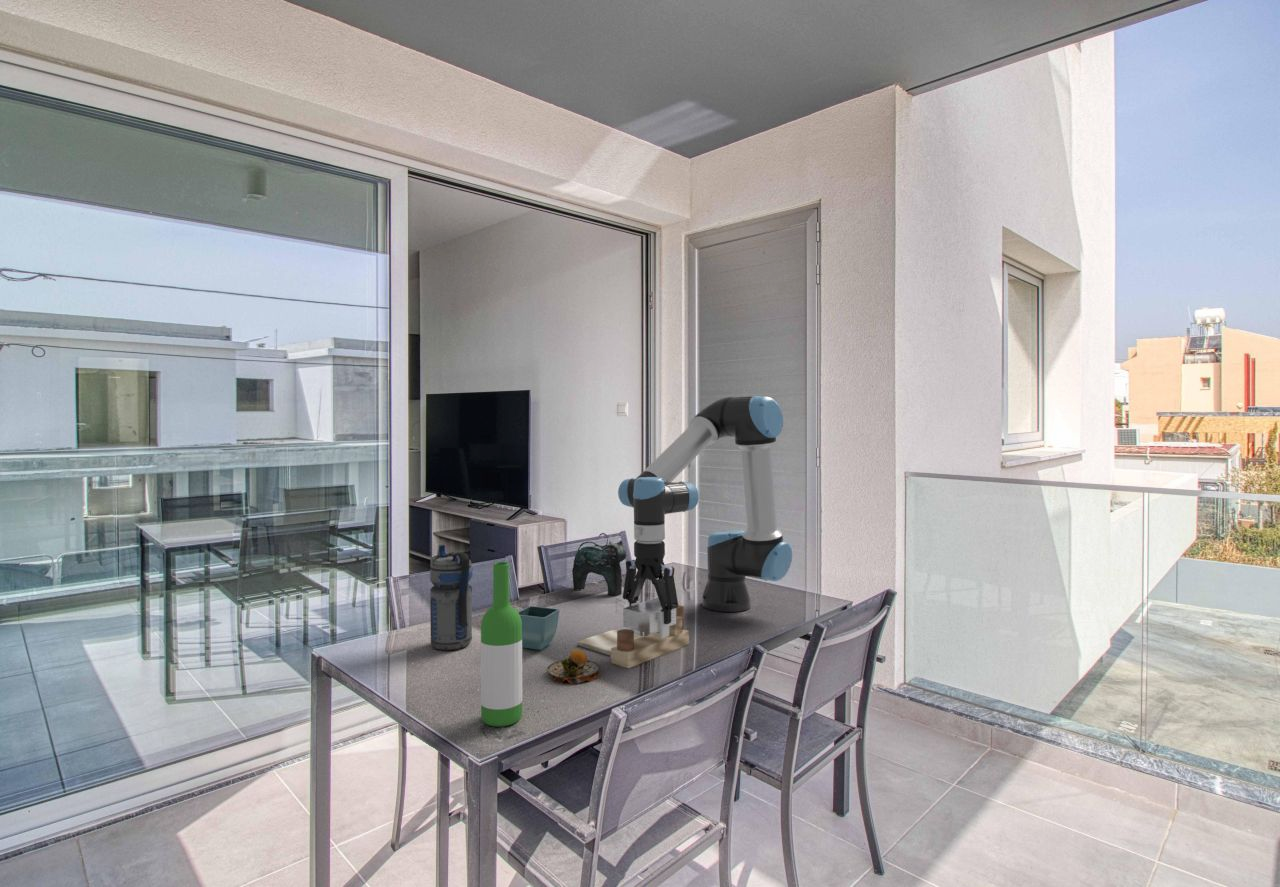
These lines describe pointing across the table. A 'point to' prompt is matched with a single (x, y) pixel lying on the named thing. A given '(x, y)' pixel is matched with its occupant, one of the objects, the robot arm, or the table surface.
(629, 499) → the robot arm
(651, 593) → the table surface
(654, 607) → the white block with stub
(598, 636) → the ash board
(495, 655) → the wine bottle
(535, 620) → the flower pot
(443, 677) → the table surface
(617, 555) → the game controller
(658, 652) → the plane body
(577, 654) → the salad plate
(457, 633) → the beverage bottle
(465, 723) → the table surface
